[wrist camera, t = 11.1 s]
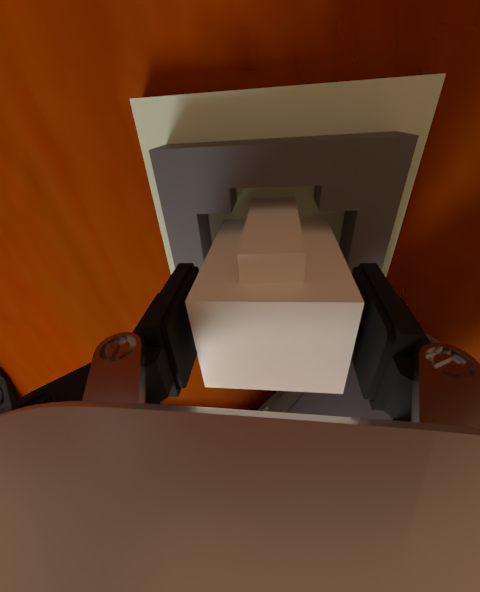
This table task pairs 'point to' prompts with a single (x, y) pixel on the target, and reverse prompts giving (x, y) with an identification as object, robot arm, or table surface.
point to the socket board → (288, 159)
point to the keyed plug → (275, 304)
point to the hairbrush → (6, 393)
